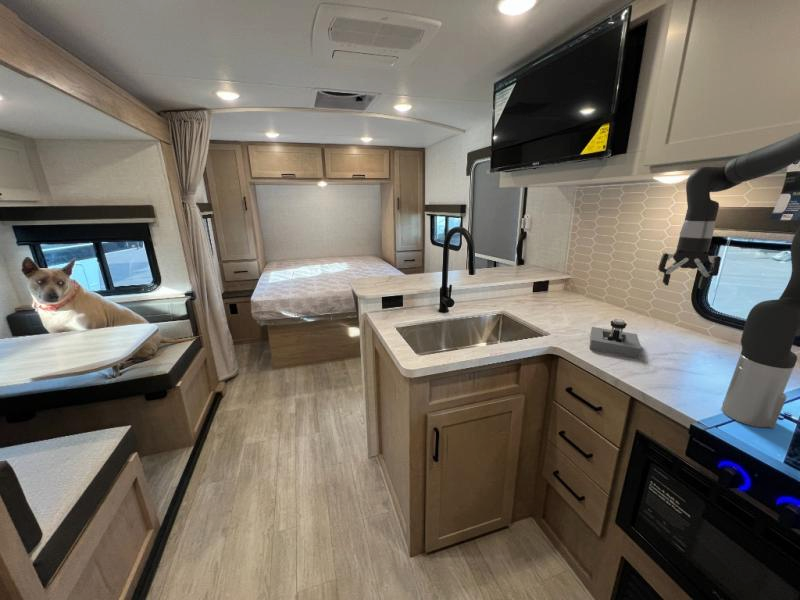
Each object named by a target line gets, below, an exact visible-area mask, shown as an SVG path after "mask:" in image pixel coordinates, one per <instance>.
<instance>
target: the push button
mask: <svg viewBox="0 0 800 600" xmlns="http://www.w3.org/2000/svg"><path fill="white" fill-rule="evenodd" d="M610 326H611V327H612V328H611V329H610V330H611V334H610V336H609V337H608V338H605V337H603V338H605V339H607V340H610V341H615V342H621V343H622V340H623V339H622V337H621V335H622V332H624V330H623V329H626V327H627V323H626V322H625V320H624V319H619V318H614V319H613V320H611V321H610ZM613 331H614V332H613ZM619 334H620V335H619Z"/></svg>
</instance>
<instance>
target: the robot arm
mask: <svg viewBox="0 0 800 600" xmlns="http://www.w3.org/2000/svg"><path fill="white" fill-rule="evenodd" d="M798 161H800V131H798V132H797V133H795V134H792V135H791V136H788V137H786V138H784V139H781V140H778V141H776V142H774V143H772V144H769V145H766V146H763V147H760V148H758V149H756V150H752V151H749V152H747V153H744V154H742V155H738V156H736V157H735V158H733V159H731V160H729V161H728V162H727V164H726V165H724V166H702V167H698V168H696V169H694V170H693V171H692V172H691V173H690V175H689V177H688V178H687V179H686V182H685V183H686V184H685V190H686V191H685V192H686V193H685V194H686V203H687V208H686V214H685V216H684V217H685V218H684V221H683V225H682V226H681V228H680V229H681V230H680V232H679V237H678V240H677V241H678V242H677V245H676V249H675V250H676V251H675V252H674V253H667V252H663V253H662V255H661V258H660V262H659V265H658V267H657V268H658V271H659V272H660V273H662V274H663V277H662V283H663V284H664V286H669V284H670V280H671V275H672V272H674V271H676V270H678V269H679V268H681V269H692V270H695V269H698V271H699V272H700V274H701V276H699V277H700V278H699V280H698V285H697V288H698V289H700V290H703V289H704V288H706V286H707V284H708V280H709V278H710V277H713V276H714V277H716V276H718V275H719V270H720V265H721V261H722V257H721V256H720V255H709V251H710V247H711V243H712V238H713V235H714V232H715V225H716V220H717V216H718V213H719V209H720V203H719V202H718V201H716V200H712V199H711V194H710V193H718V192H724V191H726V190H728V189H731V188H734V187H736V186H739V185H740V184H742V183H744V182H748V181H752V180H755V179H757V178H761V177H766V176H768V175H771V174H774V173H777V172H779V171H781V170H783V169H786V168H787V167H789V166H791V165H793V164H794V163H796V162H798ZM671 259H673V260H674V261H675V262H673V263H672V264H671V265H670V266H669V267H667V268H666V266H667V262H668V261H670V260H671ZM790 259H791V261H790V263H791V274H790V278H789V281H788V283H787V285H786V287H785V289H784V290H783V292H782V293H781V296H780V297H779V298H778V299H768V300H764V301H761V302H758V303H757V304H755V305H754V306H753V307H752V308H751V310H750V311H749V313H748V315H747V317H746V320H745V324H744V327H743V331H742V334H741V338H740V345H741V351H740V354H739V357H738V360H737V363H736V364H735V365H736V366H735V369H734V371H733V374H732V377H731V381H730V383H729V385H728V388H727V391H726V394H725V397H724V399H723V402H722V405H721V408H720V409H721V411H722V413H723V414H725V415H726V416H727V417H729V418H730V419H733V420H734V421H737V422H739V423H742V424H745V425H747V426H751V427H756V428H771V429H775V426H776V424H777V422H778V419H779V417H780V414H781V412H782V410H783V407H784V405H785V403H786V401H787V398H788V396H787V395H786V394H785V393H784V392H785V390H786V387H787V385H788V383H789V380H790V378H791V375H792V373H793V370H794V368H795V366H796V364H797V362H798V355H797V354H795V352H793V351H792V348H793V345H794V344H793V343H794V341H795V337H798V336H800V224H799V226H798V227H797V230H796V232H795V234H794V236H793V238H792V241H791V245H790ZM708 260H709V263H711V266H710V271H708V270H707V269H706V267H705V266H704V264H705V263H706V262H707V261H708Z"/></svg>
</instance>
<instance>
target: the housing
mask: <svg viewBox="0 0 800 600" xmlns="http://www.w3.org/2000/svg"><path fill="white" fill-rule="evenodd" d="M611 330H612V329H608V328H601V327H595V326H591V329H590V334H589V350H593V351H598V352H602V353H608V354H613V355H617V356H623V357H628V358H633V359H638V360H639V359H640V356H641V353H642V347H641V343H640V340H639V337H638V334H637V333H633V332H628V331H627V332H625V331H622V335H621V337H622V339H623V340H622V343H621V342H615V341H610V340H607V339H605V338H608V337H609V336H610V334H611ZM613 332H614V331H613ZM619 335H620V334H619ZM603 337H605V338H603Z"/></svg>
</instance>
